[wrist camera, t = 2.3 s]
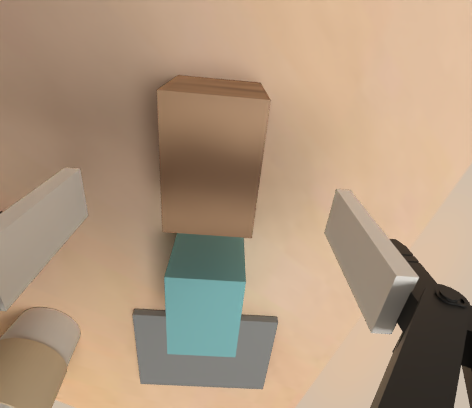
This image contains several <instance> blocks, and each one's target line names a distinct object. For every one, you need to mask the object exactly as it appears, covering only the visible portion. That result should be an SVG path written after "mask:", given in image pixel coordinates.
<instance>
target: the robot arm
mask: <svg viewBox="0 0 472 408" xmlns="http://www.w3.org/2000/svg"><path fill="white" fill-rule="evenodd" d="M87 217H88V211H87V205H86V199H85V193H84V187H83V181H82V175H81V169H80V168H67V167H65V168H63V169H62V170H60V171H59V172H58V173H56V174H55V175H53V176H52V177H51V178H49V179H48V180H47V181H45V182H44V183H42V184H41V185H40V186H38V187H37V188H35V189H34V190H33V191H31V192H30V193H29V194H27V195H26V196H24V197H23V198H22V199H20V200H19V201H17V202H16V203H15V204H13V205H12V206H10V207H9V208H8V209H6V210H5V211H4V212H2V211H1V212H0V311H7V310H8V308H9V307H10V306H11V305H12V304H13V303H14V301H15V300H16V299H17V298H18V297H19V296H20V294H21V293H22V292H23V291H24V290H25V289H26V287H27V286H28V285H29V284H30V283H31V282H32V280H33V279H34V278H35V277H36V276H37V275H38V274H39V272H40V271H41V270H42V269H43V268H44V267H45V265H46V264H47V263H48V262H49V261H50V260H51V258H52V257H53V256H54V255H55V254H56V253H57V251H58V250H59V249H60V248H61V247H62V246H63V244H64V243H65V242H66V241H67V240H68V239H69V237H70V236H71V235H72V234H73V233H74V232H75V231H76V229H77V228H78V227H79V226H80V225H81V224H82V222H83V221H84V220H85V219H86V218H87ZM324 233H325V235H326V237H327V240H328V242H329V244H330V246H331V248H332V250H333V252H334V254H335V257H336V259H337V261H338V263H339V265H340V267H341V269H342V272H343V274H344V276H345V278H346V280H347V282H348V284H349V287H350V289H351V291H352V293H353V295H354V297H355V299H356V301H357V304H358V306H359V308H360V310H361V312H362V314H363V316H364V318H365V321H366V323H367V325H368V327H369V329H370V331H371V333H381V334H392V332H393V330H394V328H395V326H396V324H397V323H398V325H399V326H400V328H401V330H402V331H403V332H402V334H401V336H400V338H399V340H398V342H397V344H396V346H395V348H394V350H393V355H392V357H391V360H390V362H389V364H388V367H387V369H386V372H385V374H384V376H383V379H382V381H381V383H380V386H379V388H378V391H377V393H376V395H375V398H374V400H373V402H372V405H371V407H370V408H454V403H455V397H456V391H457V385H458V380H459V374H460V368H461V365H462V369H463V373H464V378H465V383H466V388H467V394H468V398H469V404H470V408H472V306H471V305H470V303H469V302H468V300H467V299H466V298H465V297H464V296H463V295H461V294H460V293H459V292H457V291H456V290H454V289H452V288H450V287H447V286H445V285H441V284H437V283H436V282H435V280H434V279H433V278H432V277H431V276H430V275H429V273H428V272H427V271H426V270H425V268H424V267H423V266H422V265H421V264H420V263H419V262H418V260H417V259H416V258H415V257H414V256H413V254H412V253H411V252H410V251H409V249H408V248H407V247H406V246H404V245H403V244H402V243H400V242H399V241H397V240H396V239H389V238H388V237H387V236H386V234H385V233H384V232H383V231H382V229H381V228H380V227H379V225H378V224H377V223H376V222H375V220H374V219H373V218H372V217H371V215H370V214H369V213H368V211H367V210H366V209H365V208H364V206H363V205H362V204H361V203H360V201H359V200H358V199H357V197H356V196H355V195H354V194H353V192H352V191H351V190H344V189H336V192H335V195H334V199H333V203H332V207H331V210H330V214H329V218H328V221H327V225H326V229H325V232H324Z"/></svg>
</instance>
